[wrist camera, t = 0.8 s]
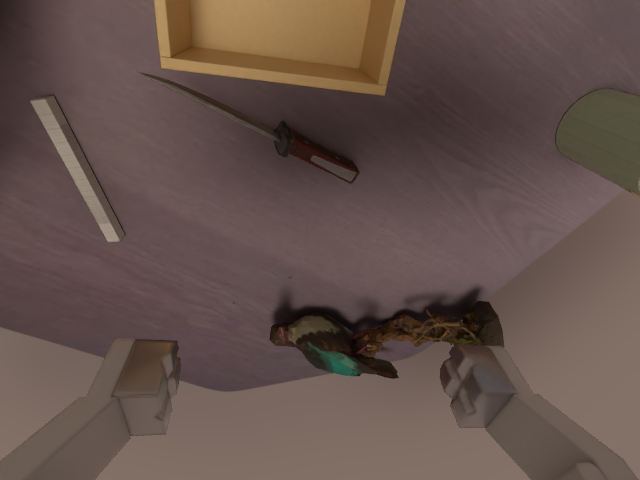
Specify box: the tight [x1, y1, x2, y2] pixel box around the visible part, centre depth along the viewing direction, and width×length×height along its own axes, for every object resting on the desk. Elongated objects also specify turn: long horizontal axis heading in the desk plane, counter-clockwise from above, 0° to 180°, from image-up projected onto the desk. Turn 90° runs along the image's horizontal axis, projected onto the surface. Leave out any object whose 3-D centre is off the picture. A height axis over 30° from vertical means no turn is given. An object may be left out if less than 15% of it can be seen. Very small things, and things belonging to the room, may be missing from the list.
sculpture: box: [270, 301, 504, 378], centre depth 39 cm, size 8×14×25 cm
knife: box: [137, 72, 360, 184], centre depth 26 cm, size 17×1×5 cm, turn 59°
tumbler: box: [556, 88, 640, 197], centre depth 28 cm, size 6×6×9 cm
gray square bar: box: [30, 96, 125, 242], centre depth 29 cm, size 12×1×1 cm, turn 6°
